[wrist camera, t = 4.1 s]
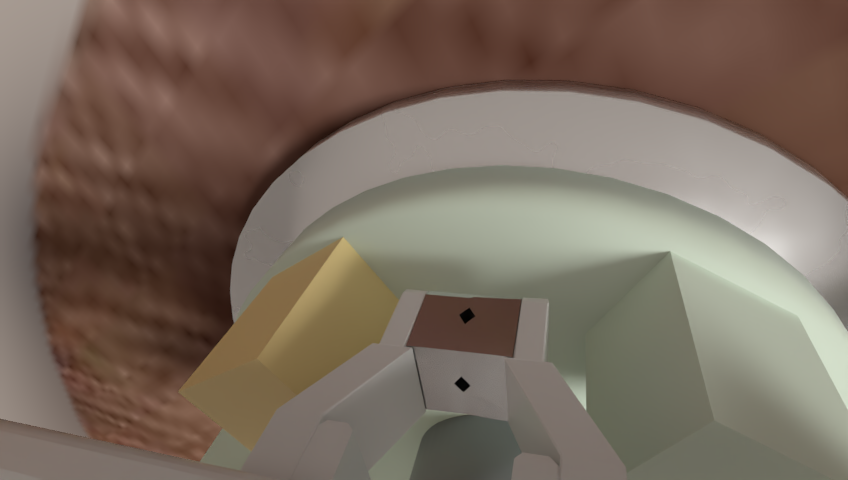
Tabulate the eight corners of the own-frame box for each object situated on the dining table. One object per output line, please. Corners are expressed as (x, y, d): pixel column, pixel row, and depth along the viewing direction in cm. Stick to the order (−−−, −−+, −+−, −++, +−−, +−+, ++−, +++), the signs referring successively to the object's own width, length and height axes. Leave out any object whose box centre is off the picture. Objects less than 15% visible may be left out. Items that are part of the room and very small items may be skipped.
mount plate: (991, 525, 16) (1055, 620, 14) (450, 545, 29) (440, 598, 27) (743, -181, 8) (801, -211, 6) (146, 271, 21) (95, 314, 19)
